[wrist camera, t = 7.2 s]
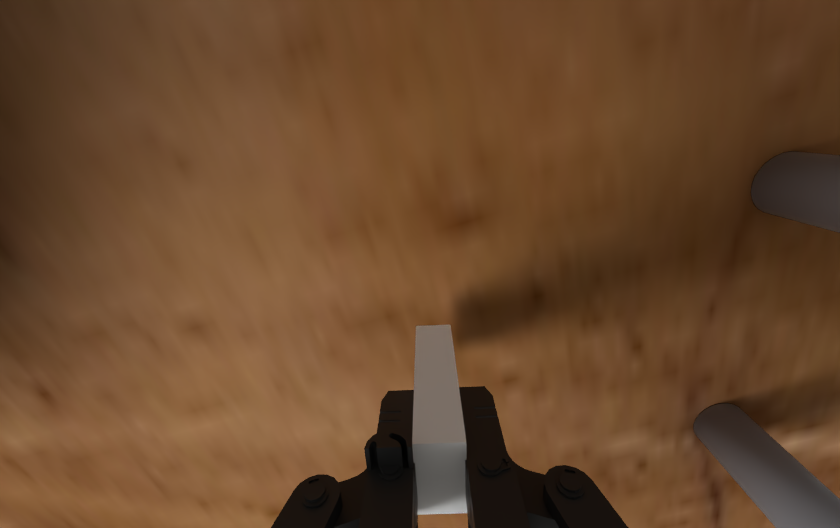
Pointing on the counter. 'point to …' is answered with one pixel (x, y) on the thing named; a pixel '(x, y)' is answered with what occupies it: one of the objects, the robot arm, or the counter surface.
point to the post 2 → (766, 470)
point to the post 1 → (800, 188)
